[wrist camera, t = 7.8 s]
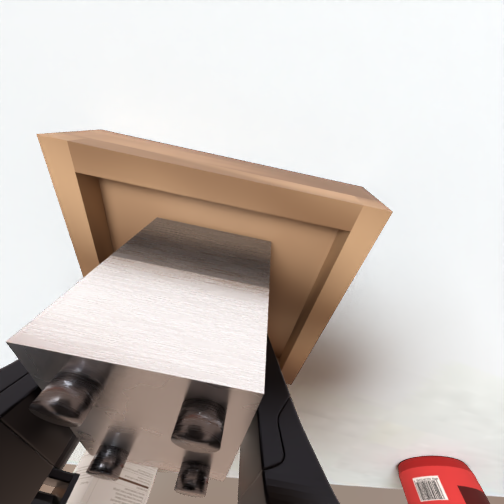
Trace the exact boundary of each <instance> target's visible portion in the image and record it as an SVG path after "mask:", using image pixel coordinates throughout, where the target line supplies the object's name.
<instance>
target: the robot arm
mask: <svg viewBox="0 0 504 504" xmlns="http://www.w3.org/2000/svg"><path fill="white" fill-rule="evenodd" d="M41 392H42V390H41V388H40V387H39V386H38V384H37V383H36V382H35V380H34V379H33V378H32V376H31V375H30V373H29V372H28V371H27V369H26V368H25V367H24V365H23V364H22V363H21V361H20V360H19V359H18V360H16V361H15V362H13V363H11V364H9V365H7V366H5V367H3V368H1V369H0V504H66V503H67V501H68V499H69V497H70V495H71V493H72V491H73V489H74V487H75V484H76V482H77V480H78V478H79V476H80V474H78V473H75V472H74V473H70V472H66V471H63V470H62V469H63V467H64V466H65V464H66V463H67V461H68V459H69V458H70V456H71V454H72V453H73V451H74V449H75V448H76V446H77V445H78V443H79V439H78V438H77V437H76V435H75V434H74V433H73V431H72V430H71V429H70V427H67V426H61V425H57V424H54V423H51V422H48V421H46V420H43V419H41V418H39V417H37V416H36V415H34V414H33V413H32V412H31V411H30V410H29V406H30V405H31V403H32V402H33V401H34V400H35V399H36V398H37V396H38V395H39V394H40V393H41ZM42 484H46V485H49V486H53V487H55V488H54V490H53V491H52V493H51V494H49V493H45V492H42V491H39V489H40V487H41V486H42ZM238 504H340V503H339V501H338V499H337V498H336V496H335V494H334V492H333V490H332V488H331V486H330V484H329V482H328V480H327V478H326V476H325V474H324V472H323V470H322V467H321V465H320V463H319V461H318V459H317V457H316V455H315V453H314V451H313V449H312V446H311V444H310V442H309V440H308V438H307V436H306V433H305V431H304V429H303V427H302V425H301V422H300V420H299V417H298V415H297V412H296V410H295V407H294V404H293V401H292V399H291V397H290V394H289V391H288V388H287V385H286V383H285V380H284V377H283V374H282V372H281V369H280V366H279V363H278V361H277V358H276V355H275V353H274V350H273V347H272V344H271V342H270V339H269V336H268V333H267V344H266V365H265V386H264V395H263V397H262V400H261V402H260V404H259V406H258V408H257V410H256V413H255V415H254V417H253V419H252V421H251V423H250V426H249V428H248V430H247V432H246V434H245V436H244V439H243V441H242V443H241V445H240V464H239V487H238Z"/></svg>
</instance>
